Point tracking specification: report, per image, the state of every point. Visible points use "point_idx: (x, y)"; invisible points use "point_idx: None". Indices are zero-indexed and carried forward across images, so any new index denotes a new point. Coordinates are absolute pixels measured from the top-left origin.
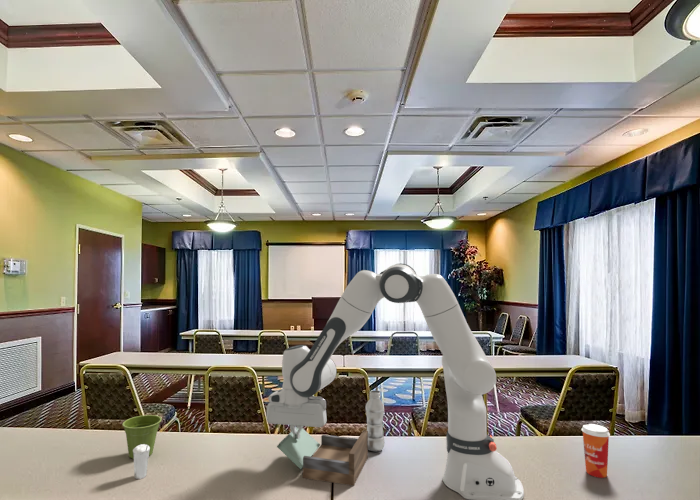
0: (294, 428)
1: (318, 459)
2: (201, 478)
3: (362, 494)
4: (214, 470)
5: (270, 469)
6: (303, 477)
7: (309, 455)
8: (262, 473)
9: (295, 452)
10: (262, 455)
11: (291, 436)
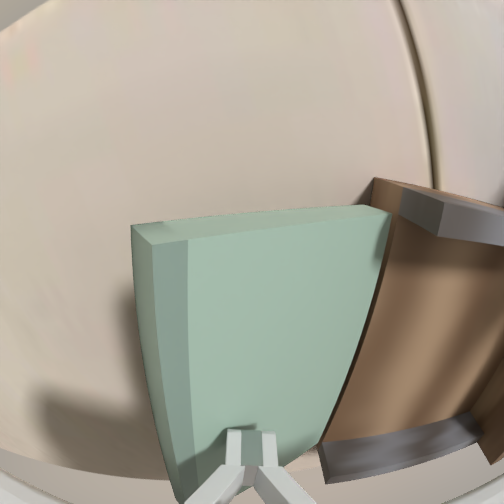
0: (222, 501)
1: (390, 471)
2: (23, 424)
3: None
4: (10, 395)
5: None
6: None
7: (338, 386)
8: (143, 418)
9: None
10: (43, 287)
11: (203, 453)
